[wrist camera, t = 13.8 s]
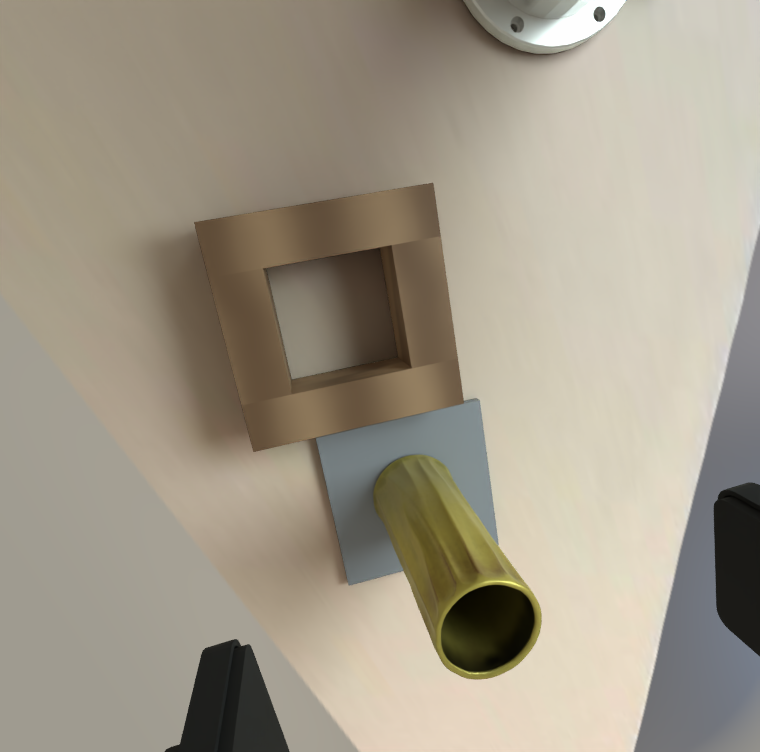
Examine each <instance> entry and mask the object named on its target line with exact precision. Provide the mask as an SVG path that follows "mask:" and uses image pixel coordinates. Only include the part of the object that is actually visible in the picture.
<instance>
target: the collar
mask: <svg viewBox="0 0 760 752" xmlns="http://www.w3.org/2000/svg"><path fill="white" fill-rule="evenodd" d="M194 224H195V228H196V232H197V236H198V240H199V243H200V247H201V251H202V255H203V259H204V263H205V267H206V271H207V274H208V278H209V282H210V286H211V290H212V294H213V298H214V301H215V305H216V309H217V313H218V317H219V321H220V325H221V328H222V332H223V336H224V340H225V344H226V348H227V352H228V355H229V359H230V363H231V367H232V371H233V375H234V379H235V383H236V386H237V390H238V394H239V398H240V402H241V406H242V410H243V413H244V417H245V421H246V425H247V429H248V433H249V437H250V440H251V444H252V448H253V452H255V451H260V450H264V449H268V448H273V447H277V446H281V445H286V444H290V443H294V442H299V441H303V440H307V439H312V438H316V437H320V436H325V435H329V434H333V433H338V432H342V431H346V430H351V429H355V428H360V427H364V426H368V425H373V424H377V423H381V422H386V421H390V420H394V419H399V418H403V417H407V416H412V415H416V414H420V413H425V412H429V411H433V410H438V409H442V408H447V407H451V406H455V405H460V404H464V400H463V393H462V385H461V378H460V371H459V364H458V357H457V350H456V342H455V335H454V328H453V321H452V314H451V307H450V300H449V292H448V285H447V278H446V271H445V264H444V257H443V250H442V242H441V235H440V228H439V221H438V214H437V207H436V200H435V192H434V185H433V183H429V184H423V185H417V186H411V187H405V188H399V189H393V190H387V191H381V192H375V193H369V194H363V195H357V196H351V197H345V198H338V199H332V200H326V201H320V202H314V203H308V204H302V205H296V206H290V207H284V208H278V209H272V210H266V211H260V212H254V213H248V214H242V215H236V216H230V217H224V218H218V219H211V220H205V221H199V222H194ZM376 248H380V254H381V260H382V266H383V271H384V277H385V283H386V289H387V295H388V301H389V306H390V312H391V318H392V324H393V330H394V336H395V342H396V347H397V353H398V357H396V358H392V359H387V360H382V361H378V362H373V363H368V364H363V365H359V366H354V367H349V368H345V369H340V370H335V371H331V372H326V373H321V374H316V375H312V376H307V377H302V378H298V379H293V380H292V379H291V375H290V371H289V366H288V362H287V357H286V353H285V349H284V344H283V340H282V336H281V331H280V327H279V322H278V318H277V314H276V309H275V305H274V301H273V296H272V292H271V288H270V283H269V279H268V274H267V270H266V268H271V267H276V266H282V265H287V264H293V263H298V262H304V261H310V260H315V259H321V258H326V257H332V256H337V255H343V254H348V253H354V252H359V251H365V250H370V249H376Z"/></svg>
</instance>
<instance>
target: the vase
mask: <svg viewBox="0 0 760 752" xmlns="http://www.w3.org/2000/svg"><path fill="white" fill-rule="evenodd" d="M373 500H374V507H375V510H376V513H377V514H378V516H379V518H380V519H381V520H382V522H383V523H384V525H385V528H386V530H387V532H388V534H389V537H390V539H391V542H392V545H393V547H394V550H395V552H396V554H397V557H398V559H399V561H400V564H401V566H402V568H403V571H404V573H405V575H406V577H407V579H408V581H409V583H410V586H411V589H412V592H413V595H414V597H415V600H416V603H417V605H418V608H419V610H420V613H421V615H422V618H423V620H424V623H425V625H426V627H427V630H428V632H429V635H430V637H431V640H432V643H433V645H434V648H435V650H436V652H437V653H438V655H439V657H440V659H441V661H442V663H443V664H444V666H445V667H446V668H447V669H449V670H450V671H452V672H454V673H456V674H458V675H459V676H461V677H464V678H467V679H487V678H492V677H495V676H498V675H500V674H503V673H505V672H507V671H509V670H511V669H512V668H514V667H515V666H516V665H518V664H519V663H520V662H521V661H522V660H523V659H524V658H525V657H526V656H527V654H528V653H529V652H530V651H531V649H532V648H533V646H534V645H535V643H536V641H537V638H538V636H539V633H540V628H541V609H540V606H539V603H538V601H537V599H536V598H535V596H534V594H533V593H532V591H531V590H530V588H529V587H528V585H527V584H526V583H525V582H524V580H523V579H522V578H521V576H520V575H519V574H518V573H517V571H516V570H515V568H514V567H513V566H512V564H511V563H510V562H509V560H508V559H507V558H506V556H505V555H504V553H503V552H502V551H501V549H500V548H499V546H498V545H497V544H496V542H495V541H494V539H493V538H492V537H491V535H490V534H489V532H488V531H487V529H486V528H485V526H484V525H483V523H482V522H481V520H480V519H479V517H478V516H477V515H476V513H475V512H474V511H473V509H472V508H471V506H470V505H469V503H468V502H467V500H466V499H465V498H464V496H463V495H462V493H461V492H460V490H459V488H458V487H457V485H456V484H455V482H454V481H453V478H452V476H451V474H450V472H449V470H448V468H447V467H446V466H445V465H444V464H443V463H441V462H440V461H439V460H437V459H435V458H433V457H430V456H427V455H409V456H405V457H402V458H400V459H398V460H396V461H394V462H393V463H391V464H390V465H389V466H388V467H386V468H385V469H384V471H383V472H382V473H381V475H380V476H379V478H378V480H377V482H376V485H375V487H374V492H373Z"/></svg>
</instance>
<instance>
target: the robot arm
mask: <svg viewBox="0 0 760 752" xmlns="http://www.w3.org/2000/svg"><path fill="white" fill-rule="evenodd" d="M463 1H464V3H465V4H466V6H467V7H468V9H469V10H470V12H471V14H472V15H473V16H474V18H475V19H476V20H477V21H478V22H479V23H480V24H481V25H482V26H483V27H484V29H485V30H486V31H488V32H489V33H490V34H492V35H493V36H494V37H496V38H497V39H498V40H500V41H501V42H503V43H505V44H507V45H509V46H511V47H513V48H516V49H518V50H521V51H526V52H530V53H535V54H548V53H557V52H561V51H565V50H569V49H572V48H574V47H576V46H578V45H580V44H582V43H584V42H586V41H587V40H588V39H590V38H591V37H592V36H594V35H595V34H597V33H598V32H599V31H601V30H602V29H603V28H604V27H605V26H606V25H607V24H608V23H609V22H610V21H611V20H612V19H613V18H614V17H615V16H616V15H617V13H618V12H619V11H620V9H621V8H622V6H623V5H624V4H625V2H626V1H627V0H463ZM511 28H513V29H514V31H513V30H512V29H511ZM714 535H715V569H716V605H717V612H718V615H719V617H720V619H721V620H722V622H723V623H724V625H725V626H726V627H727V628H728V629H729V630H730V631H731V632H733V633H734V634H735V635H736V636H737V637H738V638H739V639H741V640H742V641H743V642H744V643H745V644H746V645H747V646H749V647H750V648H751V649H752V650H753V651H754V652H755V653H757V654H758V655H759V656H760V485H758V484H755V483H746V484H742V485H739V486H736V487H732V488H729V489H726V490H723V491H721V492H720V494H719V495H718V500H717V501H716V502H715V504H714ZM165 752H289V749H288V746H287V744H286V740H285V738H284V735H283V732H282V730H281V727H280V724H279V721H278V719H277V716H276V713H275V711H274V708H273V705H272V702H271V699H270V697H269V694H268V691H267V688H266V686H265V683H264V680H263V677H262V675H261V672H260V670H259V666H258V664H257V661H256V658H255V656H254V653H253V650H252V648H251V646H250V645H249V644H248V645H245V646H241V645H240V643H239V641H238V640H237V639H234V640H231V641H228V642H224V643H221V644H218V645H214V646H211V647H208V648H205V649H204V650H203V652H202V655H201V658H200V663H199V667H198V671H197V675H196V679H195V684H194V688H193V692H192V696H191V700H190V705H189V709H188V713H187V717H186V721H185V726H184V730H183V734H182V738H181V743H180V744H179V745H176V746H173V747H170V748H168V749H166V751H165Z"/></svg>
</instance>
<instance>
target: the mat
mask: <svg viewBox="0 0 760 752" xmlns="http://www.w3.org/2000/svg"><path fill="white" fill-rule="evenodd" d="M316 441H317V445H318V450H319V454H320V459H321V463H322V468H323V472H324V477H325V481H326V486H327V490H328V495H329V499H330V504H331V508H332V513H333V517H334V522H335V526H336V531H337V535H338V540H339V544H340V549H341V553H342V557H343V562H344V566H345V571H346V575H347V580H348V584H349V586H350V585H353V584H357V583H361V582H364V581H368V580H371V579H375V578H379V577H382V576H386V575H390V574H393V573H397V572H401V571H403V568H402V566H401V564H400V561H399V559H398V557H397V554H396V552H395V550H394V547H393V545H392V542H391V539H390V537H389V534H388V532H387V530H386V528H385V525H384V523H383V522H382V520H381V519H380V518H379V516H378V514H377V513H376V510H375V507H374V500H373V492H374V487H375V485H376V482H377V480H378V478H379V476H380V475H381V473H382V472H383V471H384V469H385V468H386V467H388V466H389V465H390V464H391V463H393V462H394V461H396V460H398V459H400V458H402V457H405V456H409V455H427V456H430V457H433V458H435V459H437V460H439V461H440V462H441V463H443V464H444V465H445V466H446V467H447V468H448V470H449V472H450V474H451V476H452V478H453V481H454V482H455V484H456V485H457V487H458V488H459V490H460V492H461V493H462V495H463V496H464V498H465V499H466V500H467V502H468V503H469V505H470V506H471V508H472V509H473V511H474V512H475V513H476V515H477V516H478V517H479V519H480V520H481V522H482V523H483V525H484V526H485V528H486V529H487V531H488V532H489V534H490V535H491V537H492V538H493V539H494V541H495V542H496V544H497V545H499V544H498V536H497V529H496V521H495V513H494V506H493V498H492V491H491V483H490V475H489V468H488V460H487V453H486V445H485V437H484V430H483V422H482V414H481V407H480V400H478V399H477V398H475V399H471V400H467V401H464V404H460V405H455V406H451V407H447V408H442V409H438V410H433V411H429V412H425V413H420V414H416V415H412V416H407V417H403V418H399V419H394V420H390V421H386V422H381V423H377V424H373V425H368V426H364V427H360V428H355V429H351V430H346V431H342V432H338V433H333V434H329V435H325V436H320V437H316Z"/></svg>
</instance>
